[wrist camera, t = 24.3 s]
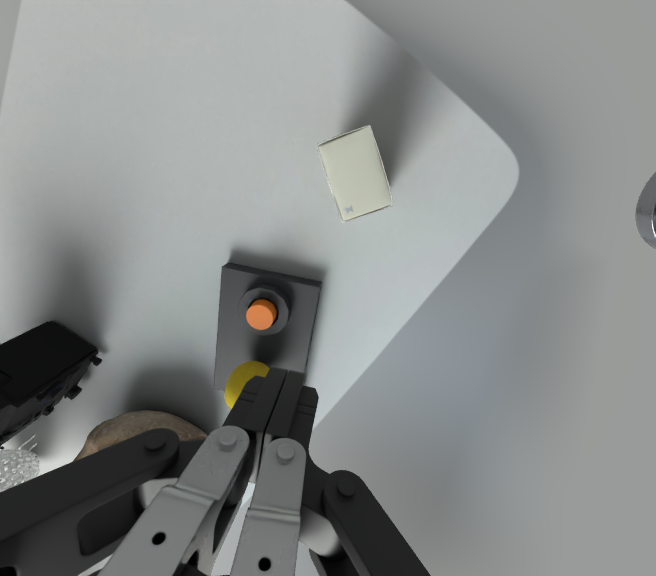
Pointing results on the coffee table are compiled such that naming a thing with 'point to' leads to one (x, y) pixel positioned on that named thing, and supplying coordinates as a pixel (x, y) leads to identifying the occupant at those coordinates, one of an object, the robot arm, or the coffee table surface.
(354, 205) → the cosmetic box
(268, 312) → the button
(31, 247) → the coffee table surface
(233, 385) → the lemon
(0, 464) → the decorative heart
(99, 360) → the camera
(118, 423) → the seashell
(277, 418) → the robot arm
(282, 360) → the dark grey base plate
